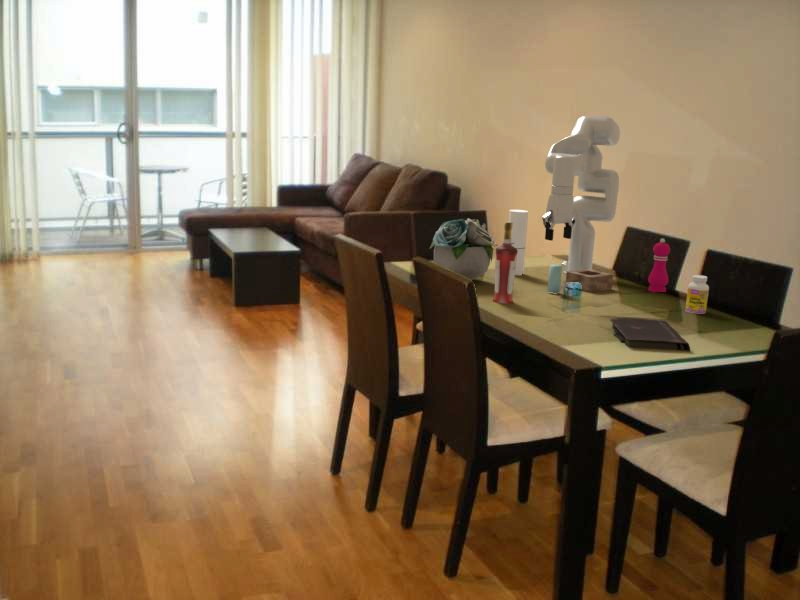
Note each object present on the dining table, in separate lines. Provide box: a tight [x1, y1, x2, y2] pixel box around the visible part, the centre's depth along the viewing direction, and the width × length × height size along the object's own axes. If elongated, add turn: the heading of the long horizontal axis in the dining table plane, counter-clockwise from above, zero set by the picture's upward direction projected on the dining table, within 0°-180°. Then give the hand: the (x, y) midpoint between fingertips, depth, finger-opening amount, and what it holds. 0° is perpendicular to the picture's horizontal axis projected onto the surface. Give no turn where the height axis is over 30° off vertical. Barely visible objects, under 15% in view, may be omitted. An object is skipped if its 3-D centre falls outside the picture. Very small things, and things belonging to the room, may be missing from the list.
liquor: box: [492, 221, 518, 305], centre depth 304 cm, size 7×7×28 cm
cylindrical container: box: [508, 209, 529, 276], centre depth 357 cm, size 7×7×25 cm
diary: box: [608, 317, 691, 352], centre depth 266 cm, size 19×25×5 cm
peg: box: [547, 264, 563, 293], centre depth 328 cm, size 4×4×10 cm
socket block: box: [565, 269, 614, 293], centre depth 338 cm, size 12×12×6 cm
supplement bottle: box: [684, 274, 710, 315], centre depth 305 cm, size 7×7×13 cm
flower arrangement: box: [429, 217, 499, 281], centre depth 336 cm, size 25×25×24 cm
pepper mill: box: [647, 237, 671, 293], centre depth 337 cm, size 7×7×20 cm
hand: (558, 239), depth 324 cm, fingers open, 9 cm apart
